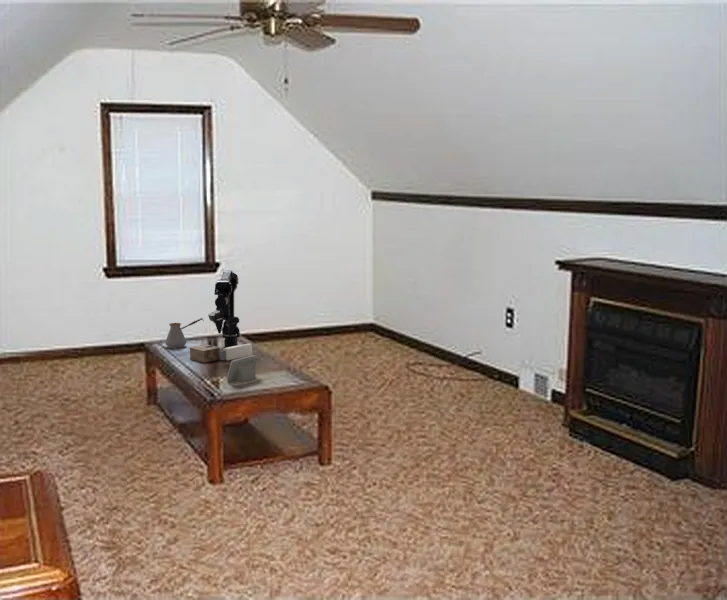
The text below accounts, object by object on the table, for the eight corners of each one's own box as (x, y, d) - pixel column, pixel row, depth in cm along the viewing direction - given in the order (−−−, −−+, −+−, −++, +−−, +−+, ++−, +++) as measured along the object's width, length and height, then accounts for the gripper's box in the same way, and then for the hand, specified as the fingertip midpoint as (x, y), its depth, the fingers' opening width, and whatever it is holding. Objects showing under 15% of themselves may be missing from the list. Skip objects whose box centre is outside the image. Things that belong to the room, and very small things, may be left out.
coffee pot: (167, 349, 427) (166, 322, 425) (163, 345, 438) (162, 319, 435) (206, 346, 436) (205, 319, 433) (202, 342, 446) (201, 316, 444)
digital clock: (251, 375, 373) (251, 353, 371) (263, 378, 367) (262, 356, 365) (222, 381, 362) (221, 358, 361) (233, 385, 356) (232, 361, 354)
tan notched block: (206, 355, 413) (206, 344, 412) (220, 359, 405) (219, 347, 404) (190, 358, 406) (189, 347, 405) (204, 362, 398) (203, 350, 397)
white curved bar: (248, 354, 417) (248, 343, 416) (252, 355, 415) (251, 344, 414) (218, 360, 403) (217, 349, 402) (221, 361, 401) (221, 350, 400)
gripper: (200, 304, 407) (201, 334, 409) (221, 309, 393) (222, 339, 396) (218, 302, 414) (219, 331, 417) (239, 306, 401) (240, 336, 404)
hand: (224, 334), depth 408 cm, fingers open, 9 cm apart
